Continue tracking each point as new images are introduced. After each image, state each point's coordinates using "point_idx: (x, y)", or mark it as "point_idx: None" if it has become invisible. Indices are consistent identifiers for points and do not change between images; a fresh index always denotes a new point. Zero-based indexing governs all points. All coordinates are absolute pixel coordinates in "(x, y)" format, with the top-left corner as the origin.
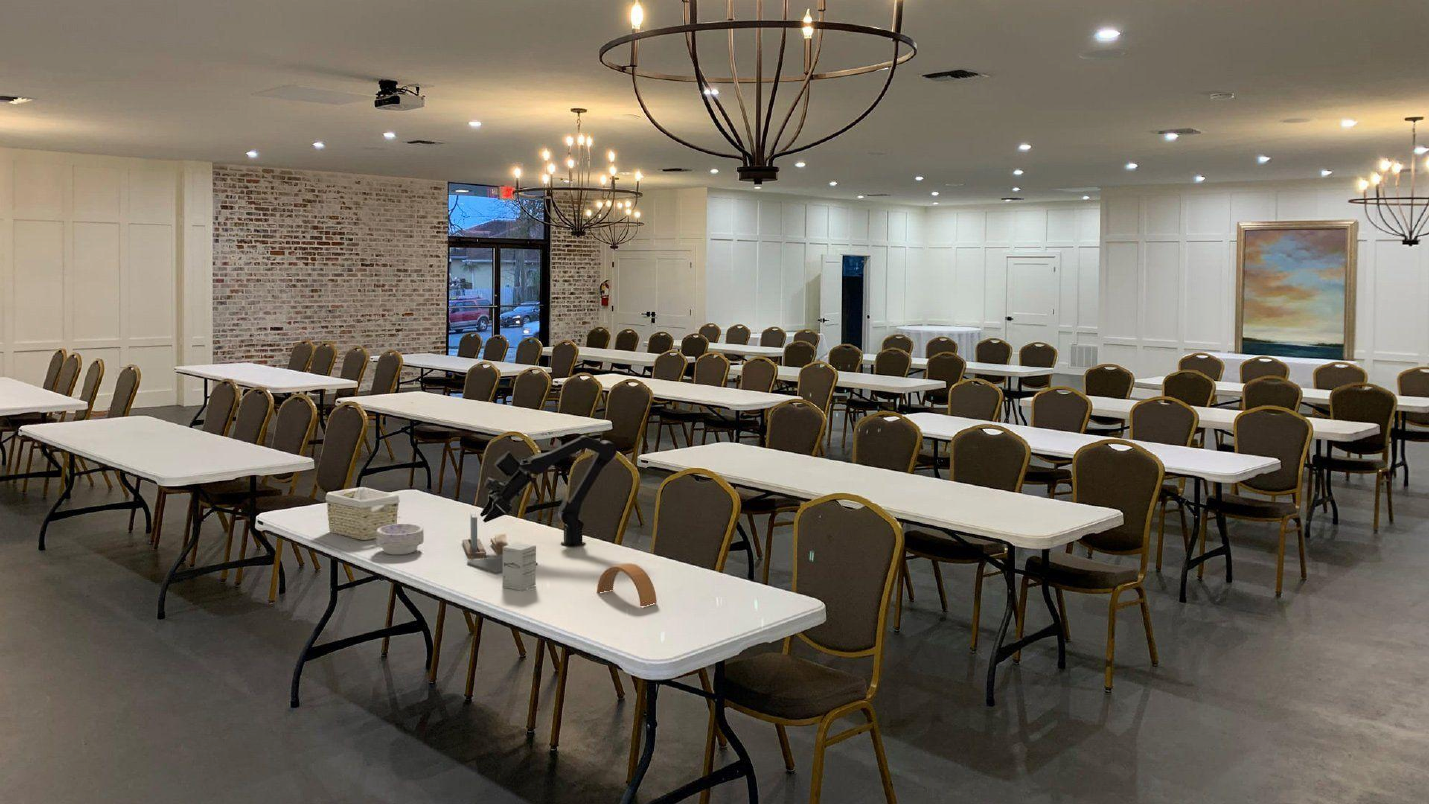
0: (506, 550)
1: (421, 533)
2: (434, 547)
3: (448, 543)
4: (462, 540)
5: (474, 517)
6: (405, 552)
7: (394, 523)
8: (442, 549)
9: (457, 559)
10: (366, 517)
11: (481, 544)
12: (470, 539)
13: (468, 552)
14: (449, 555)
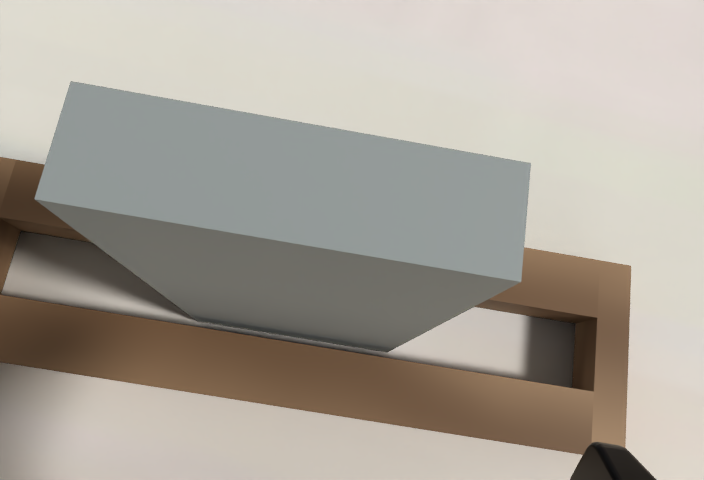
0: None
1: None
2: (547, 16)
3: (663, 160)
4: (617, 265)
5: (58, 132)
6: None
7: None
8: (450, 55)
9: (15, 71)
10: None
11: (328, 404)
12: (613, 350)
13: (30, 169)
14: (202, 49)
